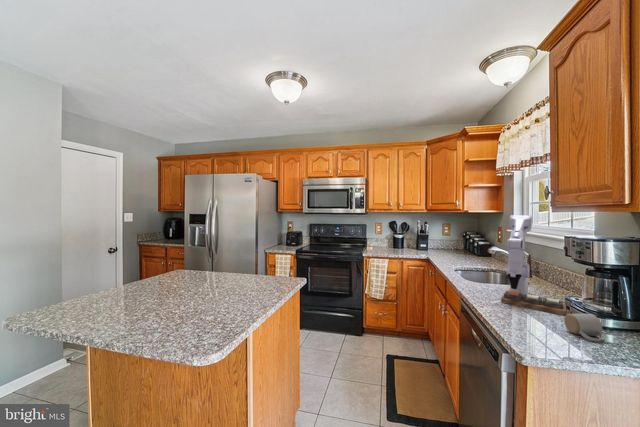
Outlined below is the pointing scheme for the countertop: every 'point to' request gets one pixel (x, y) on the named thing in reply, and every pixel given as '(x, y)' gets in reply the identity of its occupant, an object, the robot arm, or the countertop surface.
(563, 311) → the button panel
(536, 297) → the cream button
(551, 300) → the sage button
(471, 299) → the countertop surface
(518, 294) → the terracotta button
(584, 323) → the ceramic mug
